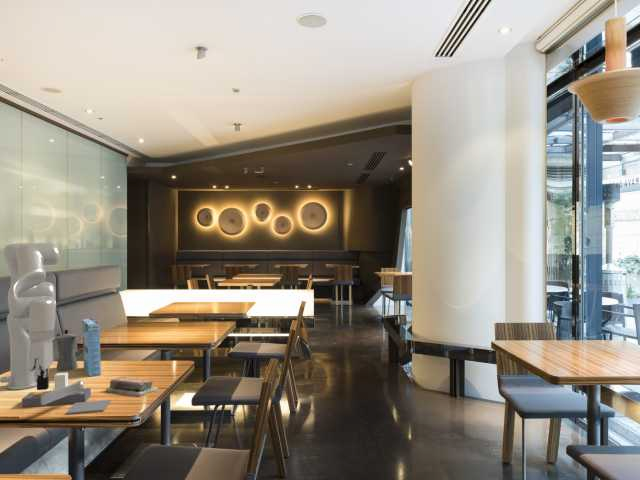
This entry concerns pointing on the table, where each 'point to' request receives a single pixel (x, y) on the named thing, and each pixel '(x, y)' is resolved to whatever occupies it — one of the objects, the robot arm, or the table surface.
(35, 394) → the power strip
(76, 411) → the mat
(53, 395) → the grey long bar
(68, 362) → the coffeepot
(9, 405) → the table surface
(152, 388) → the packaged product
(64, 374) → the plug
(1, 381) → the robot arm
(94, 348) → the gum box
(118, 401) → the table surface
